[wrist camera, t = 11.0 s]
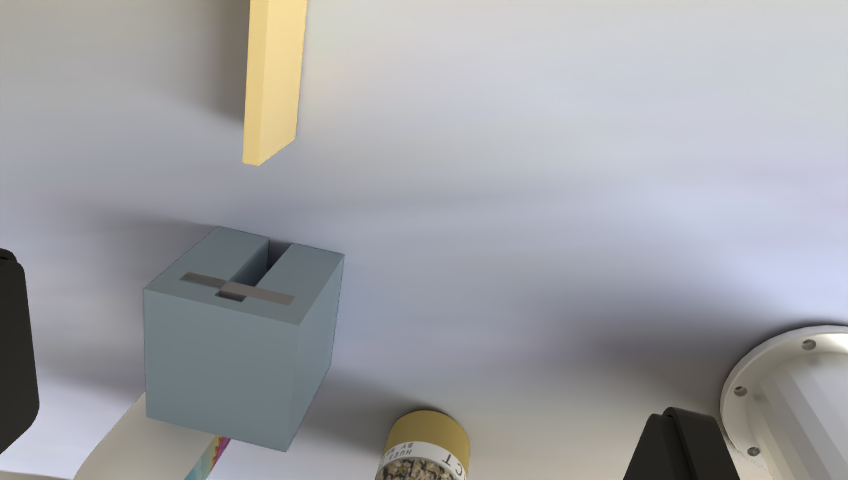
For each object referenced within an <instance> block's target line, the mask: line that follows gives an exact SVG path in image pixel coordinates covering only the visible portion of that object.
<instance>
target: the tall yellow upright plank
mask: <svg viewBox="0 0 848 480" xmlns="http://www.w3.org/2000/svg"><path fill="white" fill-rule="evenodd" d="M306 8H307V0H250V20H249V40H248V60H247V80H246V100H245V120H244V141H243V161H242V163H246V164H251V165H256V166H259V165H261V164H262V163H263V162H265V161H266V160H268V159H269V158H270V157H272V156H273V155H274V154H276V153H277V152H278V151H280V150H281V149H282V148H284V147H285V146H286V145H288V144H289V143H291V142H292V141H293V140H295V137H296V125H297V113H298V102H299V90H300V78H301V67H302V55H303V43H304V32H305V20H306Z"/></svg>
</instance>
